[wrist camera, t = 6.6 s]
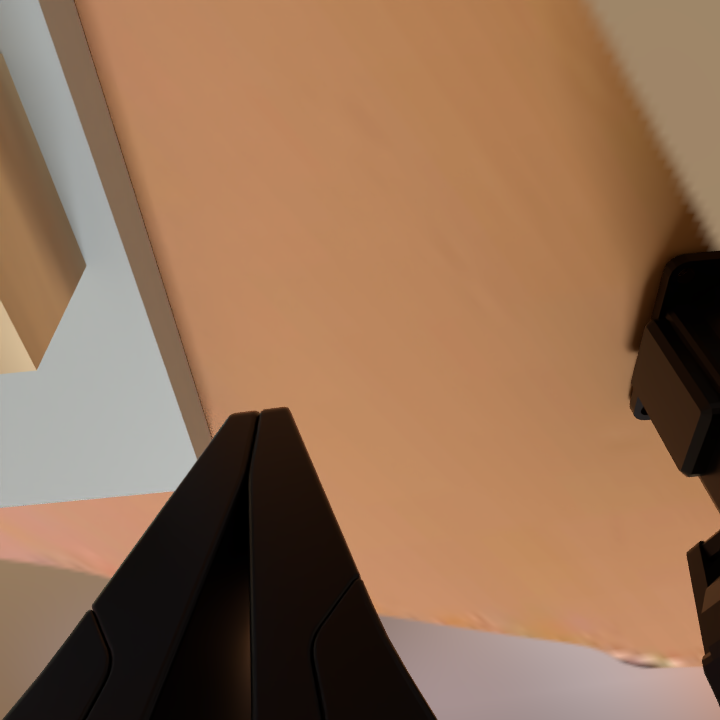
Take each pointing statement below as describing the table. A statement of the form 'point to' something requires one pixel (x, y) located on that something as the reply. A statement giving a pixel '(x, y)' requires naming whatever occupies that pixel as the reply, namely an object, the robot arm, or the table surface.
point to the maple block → (30, 241)
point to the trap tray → (92, 300)
